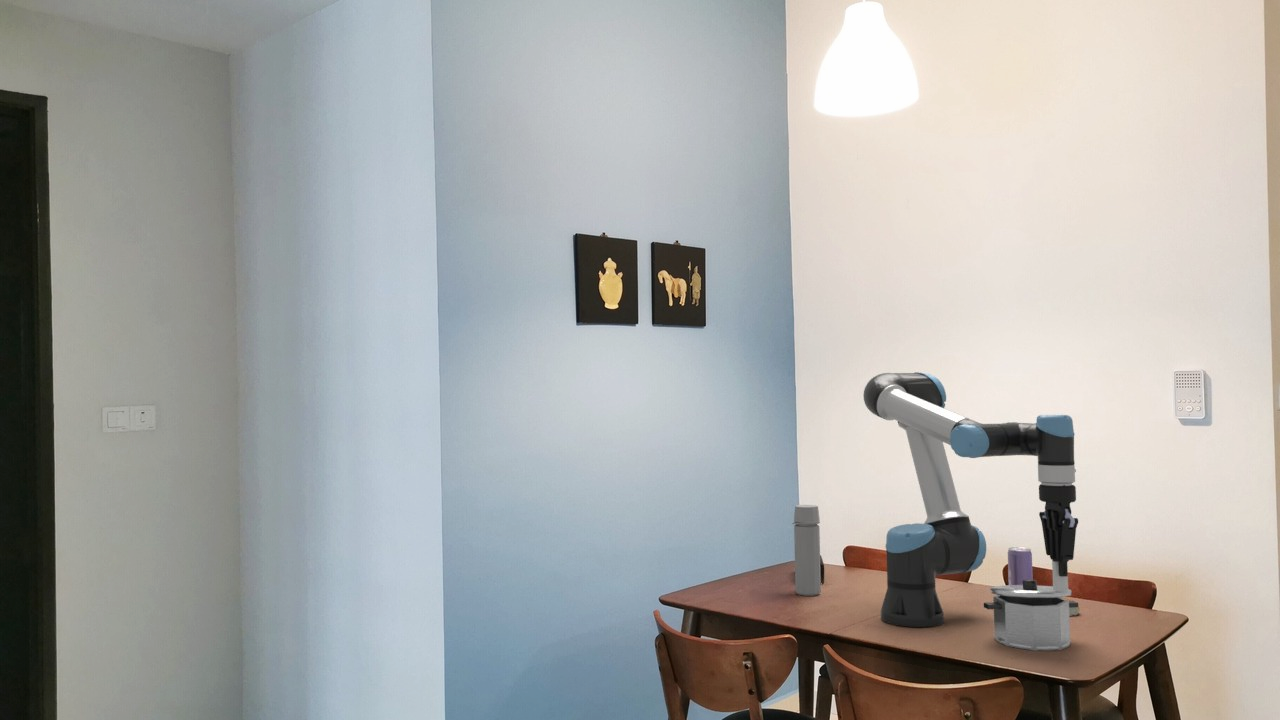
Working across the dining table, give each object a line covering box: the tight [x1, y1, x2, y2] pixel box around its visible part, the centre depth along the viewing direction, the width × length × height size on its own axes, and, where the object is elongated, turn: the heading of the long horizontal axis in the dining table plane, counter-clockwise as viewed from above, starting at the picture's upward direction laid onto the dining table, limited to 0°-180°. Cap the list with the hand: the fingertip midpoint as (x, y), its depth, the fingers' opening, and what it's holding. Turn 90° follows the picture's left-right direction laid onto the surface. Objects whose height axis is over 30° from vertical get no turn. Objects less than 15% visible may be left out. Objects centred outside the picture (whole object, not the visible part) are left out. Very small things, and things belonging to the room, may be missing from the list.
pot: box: [983, 594, 1079, 652], centre depth 207 cm, size 21×16×10 cm
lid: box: [989, 579, 1072, 598], centre depth 207 cm, size 17×17×3 cm
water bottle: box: [791, 504, 822, 597], centre depth 261 cm, size 9×8×25 cm
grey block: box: [1064, 598, 1080, 617], centre depth 234 cm, size 8×9×4 cm
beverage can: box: [1007, 546, 1034, 585], centre depth 242 cm, size 6×6×15 cm
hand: (1060, 590), depth 202 cm, fingers closed
